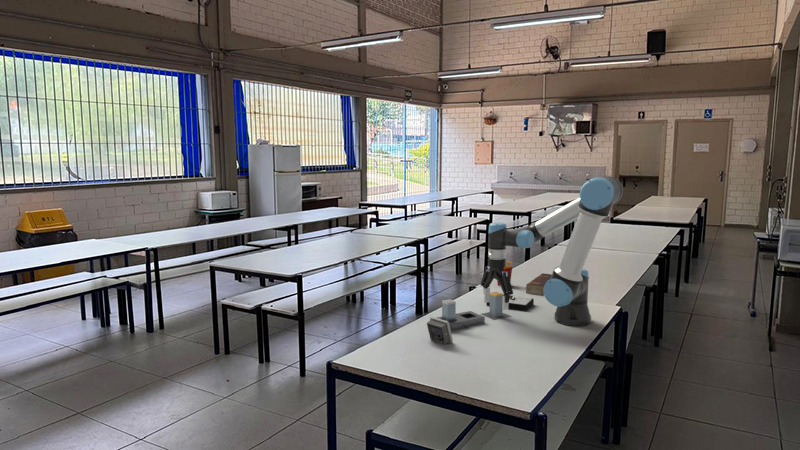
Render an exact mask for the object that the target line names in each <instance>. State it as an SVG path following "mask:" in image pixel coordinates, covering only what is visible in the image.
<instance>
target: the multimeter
mask: <svg viewBox="0 0 800 450" xmlns="http://www.w3.org/2000/svg"><path fill="white" fill-rule="evenodd" d="M502 294H503V295H504V293H502ZM534 303H535V299H534V298H532V297H525V296H518V295H512V294H511V295H509V304H508V309H507V310H514V311H515V310H516V311H522V312H528V310H529V309H531V308H532V307H533V306H534ZM485 304H486V307H490V302H487V303H485Z"/></svg>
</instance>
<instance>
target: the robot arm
mask: <svg viewBox="0 0 800 450" xmlns="http://www.w3.org/2000/svg"><path fill="white" fill-rule="evenodd" d="M623 193H624V187H623V184H622V182H620V180H618V179H617V178H616V177H613V176H608V175H607V176H597V177H593V178H590V179H589V180H587V181H586V182H584V184H583V185H582V186H581V187H580V191H579V197H577V198H575V199H574V200H572V201H570V202H568V203H567V204H565V205H562V206H561V207H560V208H557V209H556V210H555V211H553V212H551V213H549V214H548V215H546V216H544V217H542V218H540V219H538V220H537V221H535V222H533V223H531V224H529V225H528V226H525V227H522V228H517V229H516V228H508V227H507V223H504V222H491V223H489V225H488V233H487V234H488V245H487V246H488V249H487V250H488V255H487V257H488V258H487V266H484V271H483V275H482V278H481V282H480V286H482V288H483V300H484V301H483V302H484V303H485V304H486V303H487V302H490V293H491V288H490V285H491V284H492V282H493V281H494V279H495V280H496V282H497V281H498V282H499V283H500V288H501V290H502V292H503V293H502V294H504V295H503V305H502V311H507V310H509V309H508V304H509V295H511V296H512V295H514V291H513V287H512V282H510V278H509V272H504V267H505V262H506V257H507V255H506V254H507V249H506V248H507V247H512V248H513V247H514V248H521V249H530V248H532V246H533V245H534V244H535V243H537V242H539V241H541V240H542V239H544V238H545V237H547V236H549V235H550V234H552V233H554V232H556V231H558V230H560V229H561V228H563V227H565V226H567V225H569V224H571V223H573V222H575V225H574V227H573V230H572V232H571V235H570V237H569V240H568V243H567V245H566V248H565V251H564V254H563V255H562V257H561V261H560V264H559V266H558V265H557V266H556V267H554V269H553V271H552V273H551V274H552V276H551V278H550V280H548V281H547V282H546V284H545V285H544V289H543V292H544V295H543V296H544V297H545V299H546V300H547V302H548V303H549V304H551V305H552V306H555V307H556V309H555V312H554V316H553V319H554V321H556V322H557V323H558V324H561V325H565V326H571V327H572V326H573V327H575V326H576V327H582V326H587V325H588V326H589V325H590V324H591V323H592V315H591V314H590V309H589V305H588V300H589V279H590V276H589V270H587V269H585V268H584V266H585V263H586V262H587V258H588V256H589V253H590V251H591V248H592V246H593V243H594V241H595V238H596V236H597V233H598V230H599V228H600V226H601V223H602V220H604V219H606V218H608V217H609V215H610V212H611V210H612V207H613V205H615V204H617V203H619V201H620V200H621V198H622V197H623ZM501 278H502V279H501Z"/></svg>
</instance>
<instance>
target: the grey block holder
mask: <svg viewBox="0 0 800 450" xmlns="http://www.w3.org/2000/svg"><path fill="white" fill-rule="evenodd" d="M441 302H442V303H441V305H442V306H441V316H438V317H435V318H438V319H442V320H445V321H448V322H449V325H450V329H451V332H453V331H457V330H461V329H467V328H469V327H473V326H478V325H482V324H485V321H486V320H485V319H486V316H483V315H481V314H478V313H477V312H474V311H472V310H468V311H464V312H459V313H457V312H456V309H457V308H456V306H457V305H456V301H455V300H453V299H444V300H442V301H441Z"/></svg>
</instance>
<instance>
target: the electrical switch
mask: <svg viewBox="0 0 800 450" xmlns="http://www.w3.org/2000/svg"><path fill="white" fill-rule="evenodd" d="M426 326H427V330H428V335H429V340H431V341H433V342H436V343H439V344H441V345H442V344H443V345H447V344H448V343H450V344H451V343H453V341H454V339H453V335H452V334H453V333H452V331H451V329H450V325H449V322H448V321H445V320H442V319H438V318H436V317H435V316H431V317H430V318H429V321H427V322H426Z"/></svg>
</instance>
